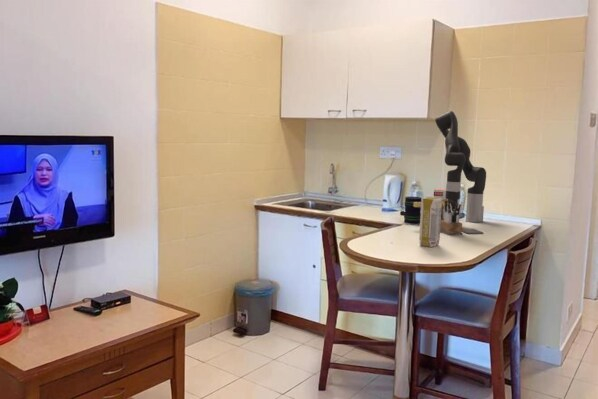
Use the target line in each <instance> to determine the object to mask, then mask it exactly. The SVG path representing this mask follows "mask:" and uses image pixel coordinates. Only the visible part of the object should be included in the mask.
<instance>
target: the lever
mask: <svg viewBox="0 0 598 399" xmlns="http://www.w3.org/2000/svg"><path fill="white" fill-rule="evenodd" d="M441 204H442V207H441V218H443V207H445V202H441ZM413 207H421V202H414V205H413Z"/></svg>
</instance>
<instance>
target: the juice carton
mask: <svg viewBox="0 0 598 399" xmlns="http://www.w3.org/2000/svg"><path fill="white" fill-rule="evenodd" d="M432 196H433V195H426V196H425V198H424V197H423V198H422V199H421V200H422V202H421V217H420V223H419V237H418V238H419V246H421V245H423V246H422V247H426V246H429V247H428V248H433V246H434V247H436V245H437V246H438V245H439V244H440V241H441V240H440V239H441V232H440V225H441V207H442V204H441V198H433V197H434V196H433V197H432Z"/></svg>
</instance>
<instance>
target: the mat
mask: <svg viewBox="0 0 598 399" xmlns="http://www.w3.org/2000/svg"><path fill="white" fill-rule="evenodd" d="M462 233H464V234H467V235H484V234H485V233H484V232H483V231H480V230H478V229H475V228H462Z"/></svg>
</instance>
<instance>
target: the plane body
mask: <svg viewBox="0 0 598 399" xmlns="http://www.w3.org/2000/svg"><path fill="white" fill-rule="evenodd" d="M462 229H463V223H462V222H460V221H459V223H447V222H444V217H443V218H441V225H440V233H442V234H444V235H447V236H458V235H459V236H462V235H463V233H464V232H462Z"/></svg>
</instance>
